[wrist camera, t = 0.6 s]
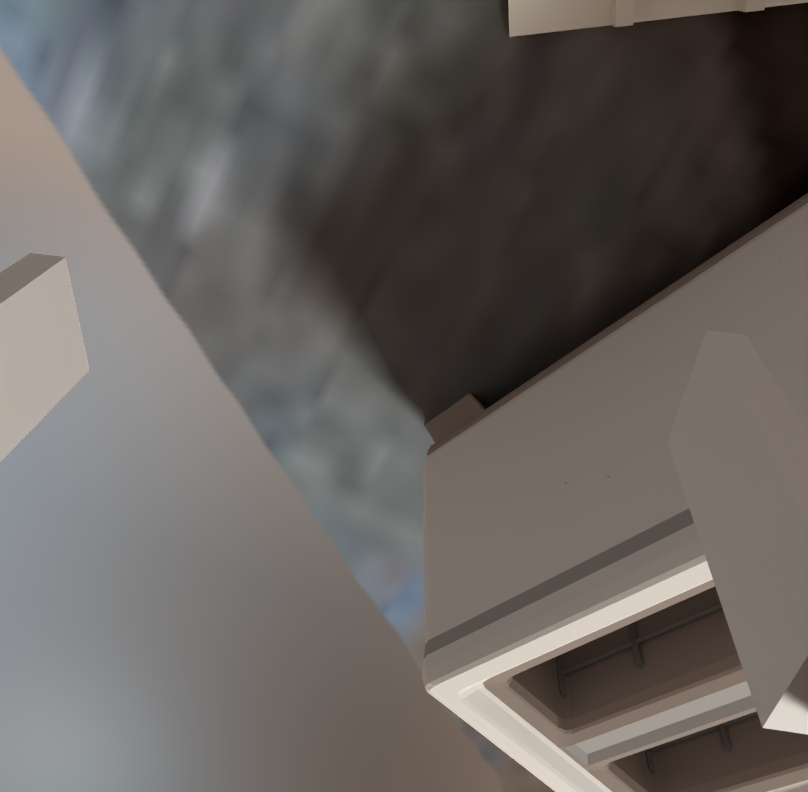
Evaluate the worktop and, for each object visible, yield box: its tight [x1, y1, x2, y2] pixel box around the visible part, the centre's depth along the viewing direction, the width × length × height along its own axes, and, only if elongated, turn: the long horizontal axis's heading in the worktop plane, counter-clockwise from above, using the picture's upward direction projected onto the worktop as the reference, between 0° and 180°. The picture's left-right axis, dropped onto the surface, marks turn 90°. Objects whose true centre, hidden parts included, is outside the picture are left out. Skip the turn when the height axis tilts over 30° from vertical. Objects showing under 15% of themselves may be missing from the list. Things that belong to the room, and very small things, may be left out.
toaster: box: [422, 193, 808, 792], centre depth 35 cm, size 19×34×21 cm, turn 133°
